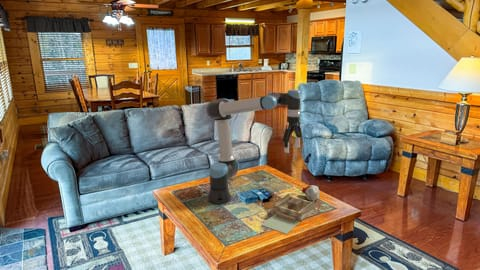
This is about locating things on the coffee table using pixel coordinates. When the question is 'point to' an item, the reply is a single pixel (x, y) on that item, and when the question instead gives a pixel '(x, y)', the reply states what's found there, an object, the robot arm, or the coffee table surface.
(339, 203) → the coffee table surface
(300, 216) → the box
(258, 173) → the coffee table surface
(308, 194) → the candle
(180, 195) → the coffee table surface
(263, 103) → the robot arm
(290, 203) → the walnut block
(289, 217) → the lid
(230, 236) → the coffee table surface
